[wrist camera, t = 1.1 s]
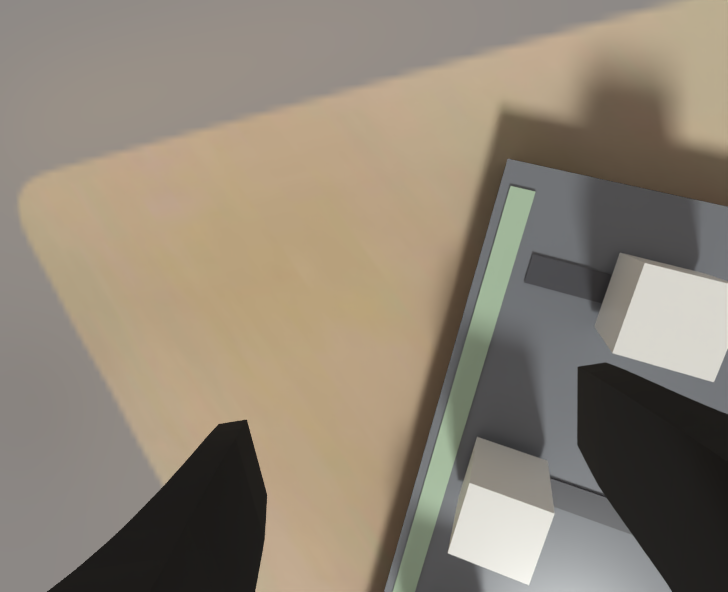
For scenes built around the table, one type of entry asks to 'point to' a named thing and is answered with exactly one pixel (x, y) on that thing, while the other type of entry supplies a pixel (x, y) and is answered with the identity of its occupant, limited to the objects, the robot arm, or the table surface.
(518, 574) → the switch middle
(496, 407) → the panel
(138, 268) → the table surface
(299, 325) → the table surface
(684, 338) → the switch
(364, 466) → the table surface
